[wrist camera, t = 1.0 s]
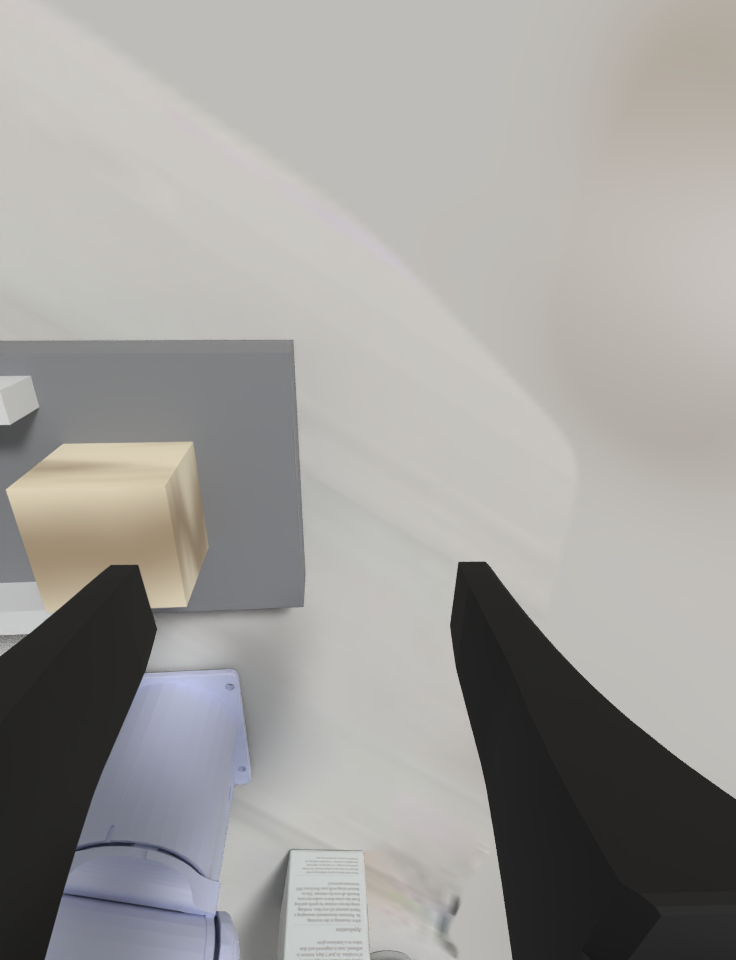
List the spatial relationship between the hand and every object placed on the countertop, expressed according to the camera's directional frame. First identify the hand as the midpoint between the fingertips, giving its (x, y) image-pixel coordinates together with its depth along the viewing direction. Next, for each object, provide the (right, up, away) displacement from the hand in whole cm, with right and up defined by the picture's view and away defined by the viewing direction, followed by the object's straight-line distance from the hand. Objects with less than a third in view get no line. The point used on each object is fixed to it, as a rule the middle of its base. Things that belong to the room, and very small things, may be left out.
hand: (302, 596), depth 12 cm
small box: (-2, -27, +27) cm, 39 cm away
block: (-8, +2, +10) cm, 13 cm away
